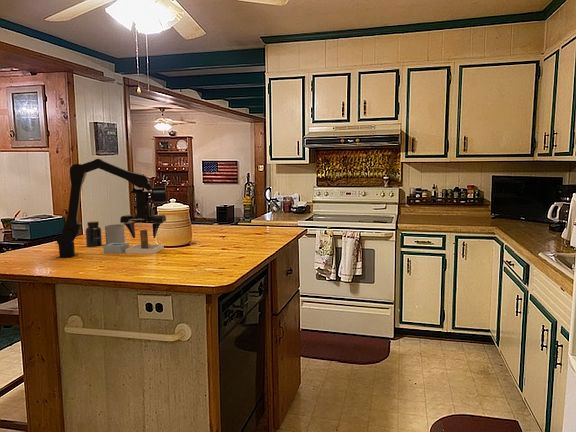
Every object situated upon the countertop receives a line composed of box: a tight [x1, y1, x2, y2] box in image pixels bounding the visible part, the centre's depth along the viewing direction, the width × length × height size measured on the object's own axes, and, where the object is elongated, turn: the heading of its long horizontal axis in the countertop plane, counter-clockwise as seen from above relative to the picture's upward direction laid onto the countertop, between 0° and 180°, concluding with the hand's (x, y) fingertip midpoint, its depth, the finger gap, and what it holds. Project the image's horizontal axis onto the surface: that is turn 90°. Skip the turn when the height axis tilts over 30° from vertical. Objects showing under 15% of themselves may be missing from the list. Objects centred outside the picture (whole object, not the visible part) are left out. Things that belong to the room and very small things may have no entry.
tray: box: [125, 243, 165, 254], centre depth 194 cm, size 11×13×2 cm
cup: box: [104, 223, 126, 245], centre depth 208 cm, size 8×8×10 cm
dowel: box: [139, 229, 149, 249], centre depth 194 cm, size 3×3×9 cm
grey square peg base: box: [102, 242, 130, 254], centre depth 194 cm, size 8×8×4 cm
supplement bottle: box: [85, 220, 103, 248], centre depth 207 cm, size 7×7×12 cm
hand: (144, 238), depth 194 cm, fingers open, 9 cm apart
